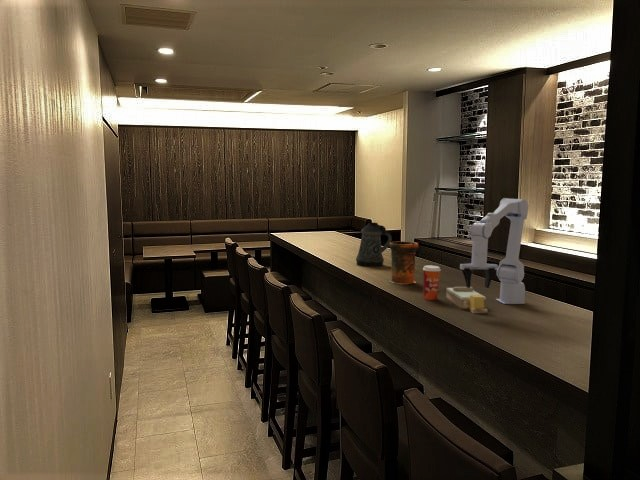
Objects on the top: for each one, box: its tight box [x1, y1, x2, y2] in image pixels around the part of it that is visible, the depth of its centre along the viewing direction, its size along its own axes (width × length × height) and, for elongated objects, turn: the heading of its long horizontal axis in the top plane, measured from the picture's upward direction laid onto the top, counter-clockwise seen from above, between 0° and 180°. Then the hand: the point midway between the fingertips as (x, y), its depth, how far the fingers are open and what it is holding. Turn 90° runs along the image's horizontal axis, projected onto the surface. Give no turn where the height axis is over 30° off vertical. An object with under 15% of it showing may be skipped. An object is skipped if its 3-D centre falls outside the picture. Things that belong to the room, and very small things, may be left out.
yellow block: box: [468, 294, 485, 312], centre depth 209 cm, size 4×4×6 cm
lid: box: [446, 286, 487, 300], centre depth 220 cm, size 10×18×3 cm, turn 6°
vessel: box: [388, 241, 419, 285], centre depth 262 cm, size 14×14×20 cm
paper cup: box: [422, 265, 442, 301], centre depth 228 cm, size 8×8×14 cm
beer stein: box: [355, 222, 392, 268], centre depth 313 cm, size 16×19×25 cm
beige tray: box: [445, 290, 488, 314], centre depth 217 cm, size 10×25×4 cm, turn 6°
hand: (477, 287), depth 208 cm, fingers open, 7 cm apart
